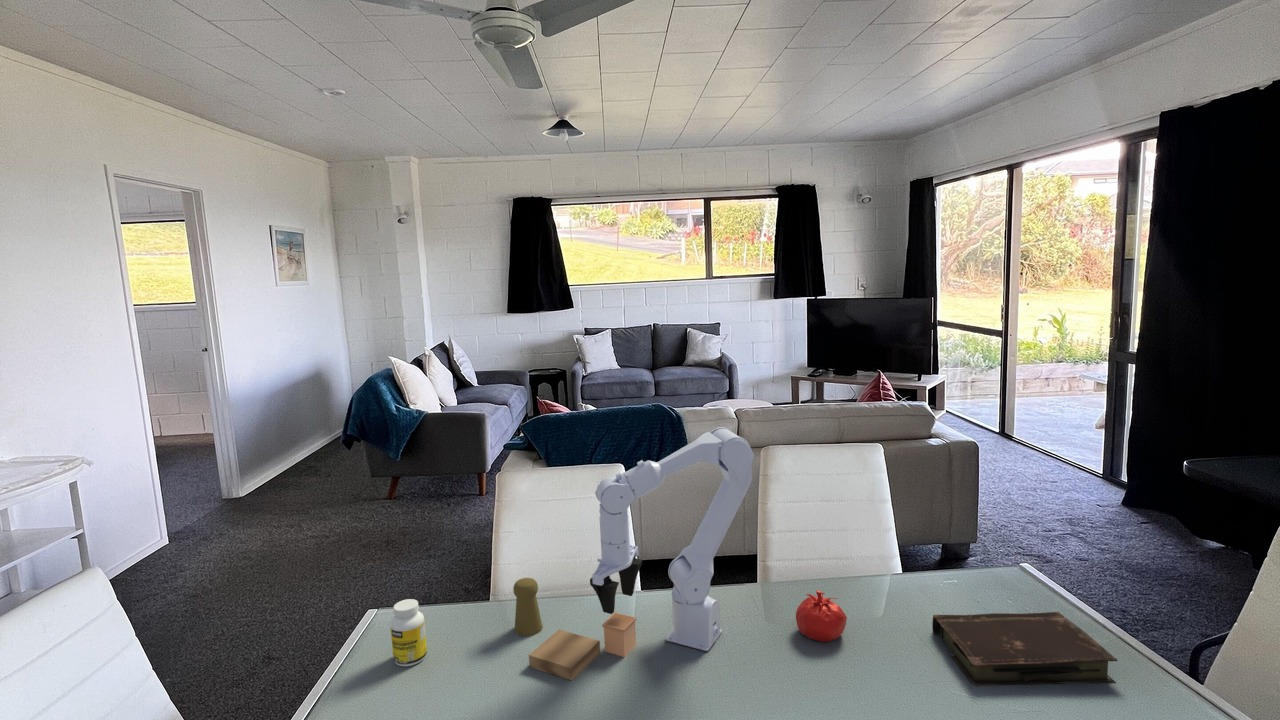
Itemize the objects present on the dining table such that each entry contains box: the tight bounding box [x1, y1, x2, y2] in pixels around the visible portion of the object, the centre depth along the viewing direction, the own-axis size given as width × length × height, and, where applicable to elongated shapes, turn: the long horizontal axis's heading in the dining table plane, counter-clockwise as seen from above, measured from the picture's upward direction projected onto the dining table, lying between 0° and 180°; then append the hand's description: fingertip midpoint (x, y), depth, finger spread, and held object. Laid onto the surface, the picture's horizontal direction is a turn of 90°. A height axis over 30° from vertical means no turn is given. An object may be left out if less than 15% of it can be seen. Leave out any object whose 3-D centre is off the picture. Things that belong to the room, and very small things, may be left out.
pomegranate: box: [795, 589, 847, 643], centre depth 134 cm, size 10×10×9 cm
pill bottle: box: [389, 598, 428, 667], centre depth 132 cm, size 6×6×12 cm
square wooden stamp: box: [601, 611, 637, 658], centre depth 132 cm, size 5×5×6 cm
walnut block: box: [528, 629, 601, 681], centre depth 129 cm, size 10×10×2 cm
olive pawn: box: [512, 577, 544, 637], centre depth 141 cm, size 6×6×11 cm
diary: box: [931, 611, 1118, 687], centre depth 124 cm, size 19×25×5 cm
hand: (618, 603), depth 131 cm, fingers open, 7 cm apart
